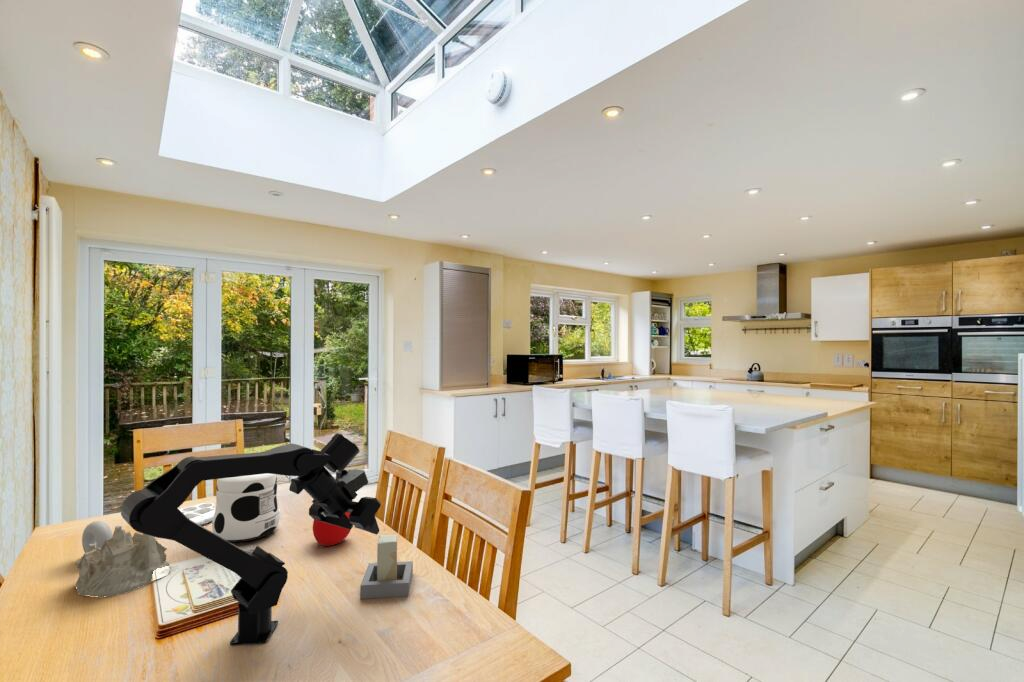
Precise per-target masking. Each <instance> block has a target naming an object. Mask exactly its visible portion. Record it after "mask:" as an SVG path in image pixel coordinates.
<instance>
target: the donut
mask: <svg viewBox="0 0 1024 682" xmlns="http://www.w3.org/2000/svg"><path fill="white" fill-rule="evenodd" d="M81 535H82V536H81V545H82V549H83V552H84V553H86V552H87V551H88V546H89V545H90V544H94V545H95V548H96V549H97V548H102V546H103V544H104V541H105V540H106V539H110V538H112V537H113V532H112V529H111V528H110V526H109V525H108V524H107V523H106V522H105V521H102V520H94V521H92V522H90V523H89V524H87V525H86V526H85V528H84V530H83V532H82V534H81Z"/></svg>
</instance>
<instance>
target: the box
mask: <svg viewBox="0 0 1024 682" xmlns="http://www.w3.org/2000/svg"><path fill="white" fill-rule="evenodd" d="M376 552H377V554H376V555H377V556H376V557H377V560H376V563H377V578H376V581H390V580H398V577H397V562H398V534H397V533H395V534H381V535H378V539H377V551H376Z"/></svg>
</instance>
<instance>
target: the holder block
mask: <svg viewBox="0 0 1024 682" xmlns="http://www.w3.org/2000/svg"><path fill="white" fill-rule="evenodd" d="M413 563H414V560H413V561H412V560H410V561H408V560H407V561H397V578H402V579H397V580H390V581H377V580H375V581H374V579H377V562H372V563H371V562H370V563H368V565H367V567H366V569H365V573H364V575H363V577H362V581H361V583H360V587H359V589H360V594H359V595H360V598H359V599H361V600H363V599H364V600H365V599H366V600H369V599H382V598H383V599H384V598H400V597H401V598H402V597H403V598H405V597H409V595H410V590H411V586H412V585H411V584H412V578H413V573H414V572H413V571H414V569H413V568H414V567H413V565H414V564H413ZM400 576H401V577H400ZM402 576H403V577H402ZM410 585H411V586H410Z"/></svg>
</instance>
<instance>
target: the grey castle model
mask: <svg viewBox="0 0 1024 682" xmlns="http://www.w3.org/2000/svg"><path fill="white" fill-rule="evenodd" d="M122 527H123V526H122V525H116V526H115V528H114V531H113V532H112V534H113V537H112V538H110V539H106V540H105V541H104V544H103V546H102V548H97V549H96V548H95V545H94V544H90V545H89V546H88V551H87V552H86V553H85V552H84V553H83V555H82V556H81V557H80V558H79V559H78V560H77V561H76V563H75V566H76V568H77V569H78V578H77V580H76V581H75V582H76V583H75V585H76V587H77V590H76V593H77V592H78V593H79V594H80V595H79V594H78V595H79V596H82V595H90V596H98V597H104V596H110V597H113V596H112V595H115V596H118V595H117V594H119V595H124V594H127V593H129V592H132V590H133V591H135V590H137V589H139V588H138V587H140V588H141V587H144V586H147V585H150V584H151V583H150V582H151V579H152V574H153V571H154V570H156V569H157V568H162V567H165V566H169V565H170V563H169V561H168V560H167V554H166V551H167V550H168V547H165V546H163V544H161V543H159V542H158V541H157V539H156V537H154V536H150V535H147V534H143V533H140V532H137V531H136V532H134V533H133V535H132V533H131V531H127V532H126V531H125V529H123V528H122ZM166 560H167V561H166ZM149 583H150V584H149ZM146 584H147V585H146ZM143 585H144V586H143ZM76 587H75V588H76ZM134 589H135V590H134ZM126 592H127V593H126ZM123 593H124V594H123ZM98 597H97V598H98ZM104 598H105V597H104Z"/></svg>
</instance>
